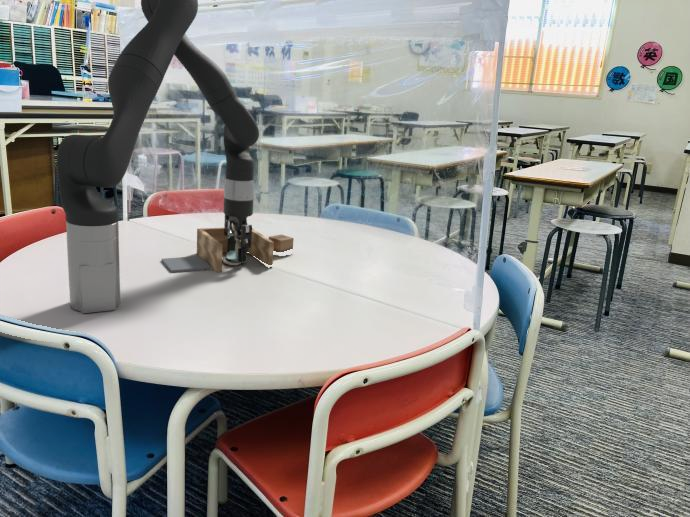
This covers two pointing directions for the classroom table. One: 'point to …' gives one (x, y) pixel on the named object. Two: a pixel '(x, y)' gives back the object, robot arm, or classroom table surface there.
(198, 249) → the cubby
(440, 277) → the classroom table surface
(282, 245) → the walnut block
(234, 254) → the pacifier
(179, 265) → the pad
